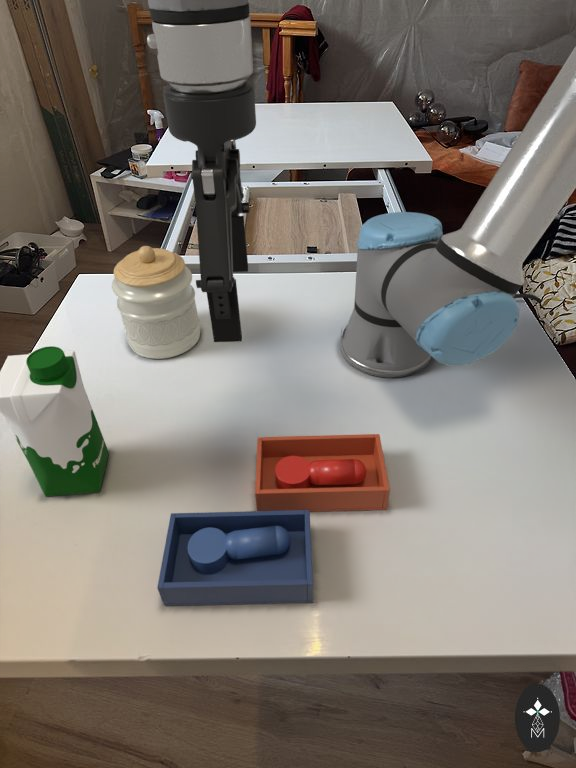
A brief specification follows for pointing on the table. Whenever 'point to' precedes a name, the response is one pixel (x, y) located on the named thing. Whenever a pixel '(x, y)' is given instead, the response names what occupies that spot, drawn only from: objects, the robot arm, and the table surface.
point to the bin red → (322, 497)
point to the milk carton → (53, 421)
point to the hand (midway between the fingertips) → (232, 302)
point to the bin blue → (238, 562)
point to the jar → (156, 303)
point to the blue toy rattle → (234, 546)
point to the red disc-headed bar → (317, 472)
